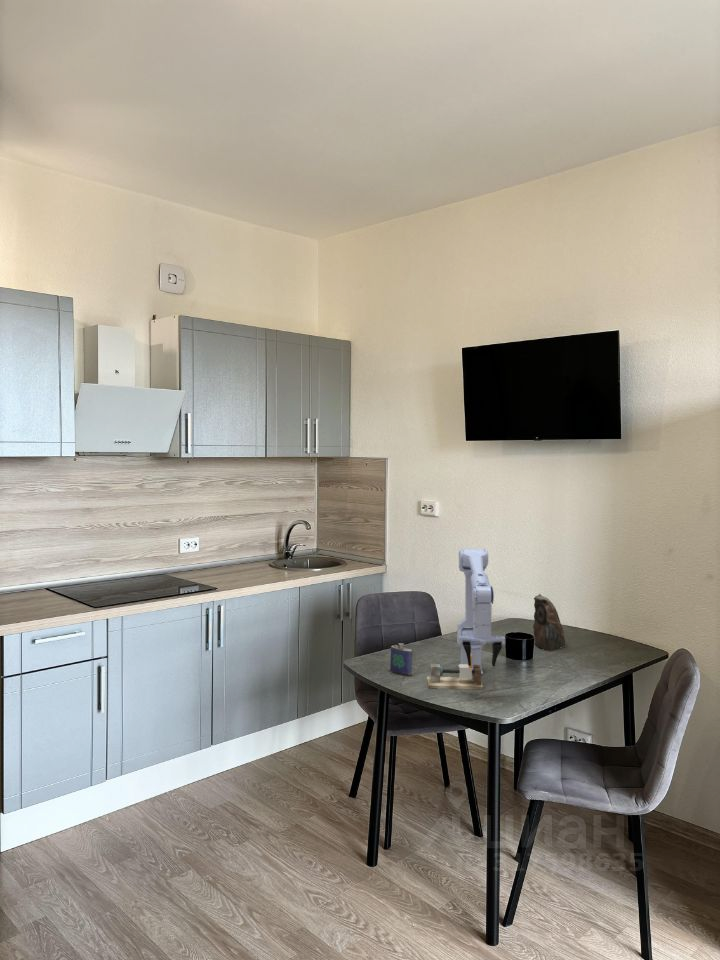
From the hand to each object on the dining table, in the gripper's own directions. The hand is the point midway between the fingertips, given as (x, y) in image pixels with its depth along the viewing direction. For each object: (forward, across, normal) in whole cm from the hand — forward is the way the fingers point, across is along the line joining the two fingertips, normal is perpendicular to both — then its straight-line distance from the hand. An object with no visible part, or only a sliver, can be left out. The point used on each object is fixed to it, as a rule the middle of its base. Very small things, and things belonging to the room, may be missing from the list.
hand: (481, 665), depth 234 cm
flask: (+10, -26, +21) cm, 35 cm away
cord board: (+10, -8, +10) cm, 16 cm away
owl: (+11, +34, +59) cm, 69 cm away
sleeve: (+7, -4, +10) cm, 13 cm away
